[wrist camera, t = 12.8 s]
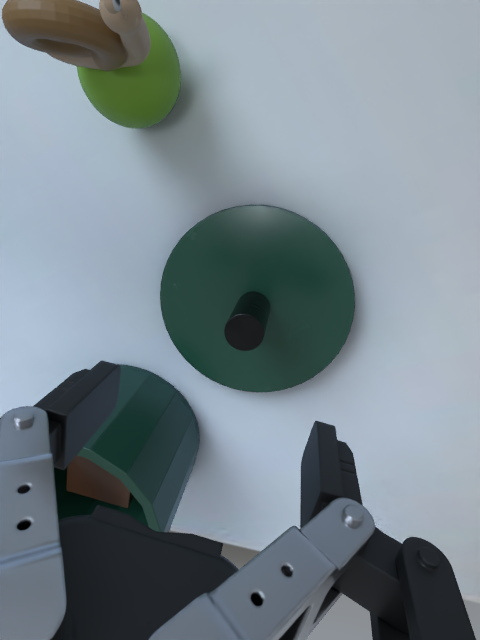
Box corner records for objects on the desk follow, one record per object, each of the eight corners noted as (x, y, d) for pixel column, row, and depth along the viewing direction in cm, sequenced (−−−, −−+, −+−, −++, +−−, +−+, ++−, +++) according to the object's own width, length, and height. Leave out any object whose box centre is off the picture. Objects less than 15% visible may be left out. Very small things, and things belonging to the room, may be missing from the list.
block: (99, 447, 33) (65, 491, 28) (102, 400, 31) (67, 438, 26) (152, 462, 32) (128, 509, 28) (159, 415, 30) (134, 457, 26)
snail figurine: (207, 135, 23) (122, 89, 12) (111, 132, 24) (-54, 86, 13) (208, 31, 21) (108, -140, 10) (104, 31, 22) (-96, -126, 11)
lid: (154, 359, 29) (121, 399, 24) (179, 183, 24) (144, 183, 19) (320, 404, 28) (325, 456, 23) (381, 230, 24) (405, 244, 18)
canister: (61, 463, 35) (-21, 558, 26) (66, 347, 30) (-31, 414, 21) (187, 500, 34) (147, 611, 25) (211, 387, 29) (173, 474, 21)
